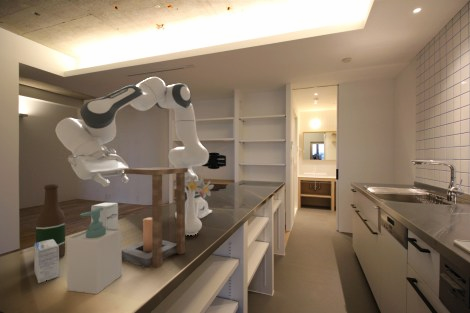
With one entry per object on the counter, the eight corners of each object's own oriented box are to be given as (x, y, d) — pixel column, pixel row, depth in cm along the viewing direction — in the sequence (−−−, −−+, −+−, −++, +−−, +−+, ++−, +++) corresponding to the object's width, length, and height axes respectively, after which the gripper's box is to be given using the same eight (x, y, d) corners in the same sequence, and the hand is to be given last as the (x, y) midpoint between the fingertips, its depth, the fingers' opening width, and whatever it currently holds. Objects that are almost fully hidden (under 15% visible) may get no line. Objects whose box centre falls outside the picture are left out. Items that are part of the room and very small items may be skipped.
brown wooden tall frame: (156, 242, 83) (155, 167, 83) (188, 251, 75) (187, 168, 75) (120, 258, 70) (119, 168, 70) (154, 270, 62) (153, 170, 62)
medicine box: (59, 277, 59) (59, 245, 59) (37, 284, 56) (37, 250, 56) (54, 267, 64) (54, 238, 64) (33, 273, 61) (33, 242, 61)
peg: (150, 251, 75) (150, 216, 75) (158, 253, 73) (158, 218, 73) (140, 255, 72) (140, 219, 72) (148, 258, 70) (148, 221, 70)
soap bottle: (65, 291, 53) (65, 213, 53) (95, 272, 61) (95, 205, 61) (96, 295, 51) (96, 214, 51) (122, 275, 60) (121, 206, 60)
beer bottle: (41, 265, 65) (41, 186, 66) (30, 259, 69) (30, 185, 69) (70, 255, 72) (70, 183, 72) (59, 250, 76) (59, 182, 76)
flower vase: (206, 241, 84) (206, 177, 84) (165, 236, 89) (165, 176, 90) (218, 230, 97) (218, 174, 97) (181, 226, 102) (181, 173, 102)
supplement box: (105, 236, 89) (105, 206, 90) (90, 235, 91) (90, 205, 91) (118, 230, 97) (118, 202, 97) (104, 229, 98) (104, 202, 98)
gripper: (70, 148, 65) (100, 180, 64) (117, 149, 86) (140, 174, 84) (58, 163, 66) (87, 195, 65) (107, 160, 86) (130, 185, 85)
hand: (117, 183), depth 75 cm, fingers open, 8 cm apart
